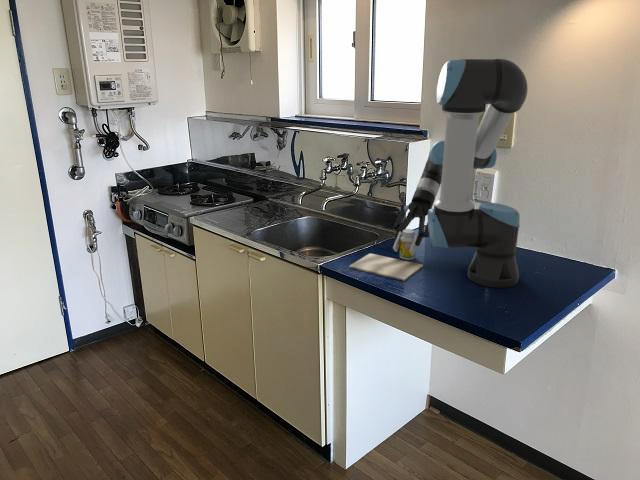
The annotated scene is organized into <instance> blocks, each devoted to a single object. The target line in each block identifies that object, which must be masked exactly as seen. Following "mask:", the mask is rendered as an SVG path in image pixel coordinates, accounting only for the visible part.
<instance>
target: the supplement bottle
mask: <svg viewBox="0 0 640 480" xmlns="http://www.w3.org/2000/svg"><path fill="white" fill-rule="evenodd" d="M402 234H403V236H401V238H400V246H399V257H400V259H401V260H404V261H408V260H409V261H410V260H413V259H416V250H415V252H414V255H411V253H410V252H409V250H410V248H411V245H412V243H413V240H414V237H415V230H414V229H410V228H408V229H407V228H406V229H405V230H403V233H402Z"/></svg>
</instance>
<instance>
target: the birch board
mask: <svg viewBox="0 0 640 480" xmlns="http://www.w3.org/2000/svg"><path fill="white" fill-rule="evenodd" d="M348 267H349V268H350V269H354V270H357V271H358V270H359V271H361V272H365V273H369V274H374V275H379V276H382V277H385V278H386V277H387V278H390V279H395V280H398V281H403V282H405V281H406V280H408V279H410V277H412V276H413V275H414V274H415V273H417V272H418V271H419V270H420V269H422V268H423V267H424V264H420V263H416V262H412V261H408V260H404V259H398V258H393V257H389V256H384V255H381V254H380V255H379V254H376V253H375V254H374V253H368V254H365V255H364V256H363V257H362V258H360V259H358V260H357V261H355V262H353V263H351V264H350V265H349V266H348Z"/></svg>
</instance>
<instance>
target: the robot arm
mask: <svg viewBox="0 0 640 480" xmlns="http://www.w3.org/2000/svg"><path fill="white" fill-rule="evenodd" d="M437 81H438V82H437V85H436V86H437V87H436V96H435V97H436V102H437V105H440V106H441V112H442V113H443V114H444V115H445V116H446V122H445V131H444V133H445V134H444V140H439V141H436V142H435V143H434V144H433V145H432V147H431V149H430V151H429V154H428V157H427V159H426V163H425V165H424V168H423V171H422V173H421V176H420V179H419V181H418V183H417V185H416V187H415V191H414V193H413V196H412V198H411V201H410V203H409V204H408V205H404V204H400V210H399V213H398V214H397V217H396V219H395V222H394V224H393V226H392V228H393V230H394V232H395V236H394V238H393V240H394V244H393V246H392V249H393V251H394V252H396V253H397V252H398V250H399V249H400V238H401V236H403V234H402V233H403V230H405V229H407V227H408V226H409V225H410V224H411V222H412V221H413V220H414V219H415V218H418V219H419V221H418V230H417V231H418V232H417V234H414V236H415V237H414V240H413V243H412V245H411V248H410V250H409V252H410V253H411V255H414V252H415V250H416V249H417V247H420V246H421V243H422V241H423V239H424V238H426V239H427V238H429V239H430V241H431V243H432V245H433V246H434V247H437V248H446V249H449V248H452V249H453V248H455V249H456V248H475V253H474V255H473V258H472V260H471V262H470V263H469V266H468V268H467V278H468V279H469V280H470V281H472V282H473V283H475V284H477V285H480V286H484V287H487V288H488V287H489V288H498V289H501V288H510V287H513V286H517V284H518V282H519V278H520V272H519V268H518V264H517V259H516V252H517V246H518V237H519V228H520V226H521V225H520V212H519V211H518V210H517V209H515V208H514V207H512V206H509V205H506V204H501V203H496V202H482V203H480V205H479V206H478V208H475V204H474V203H473V201H472V200H471V192H472V183H473V174H474V170H475V169H479V170H485V169H492V168H494V167H495V166H496V162H497V159H498V157H497V156H498V155H497V149H496V147H497V146H498V144H499V142H500V139H501V138H502V136H503V135H504V133H505V131H506V129H507V127H508V125H509V123H510V121H511V120H512V118H513V116H514V113H517V112H518V111H520V110H521V108H522V107H523V105H524V103H525V101H526V99H527V96H528V82H527V81H528V80H527V78H526V75H525V74H524V72H523V70H522V68H520V67H519V66H518V65H517V64H516V63H515V62H513V61H511V60H509V59H506V58H505V59H504V58H493V59H491V58H490V59H489V58H488V59H487V58H476V59H474V58H467V59H466V58H459V59H450V60H448V61H446V62H445V63H444V64H443V67H442V68H441V71H440V74H439V76H438V79H437ZM486 105H488V106H487V107H486ZM482 115H483V117H482V119H481V121H480V124H478V123H479V118H480V117H481V116H482ZM439 189H440V194H439V198H438V199H436V198H437V196H438V193H439ZM408 210H409V211H408ZM406 214H407V215H406ZM405 216H406V217H405ZM426 217H427V223H426ZM425 223H426V224H425ZM415 253H416V252H415Z"/></svg>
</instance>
